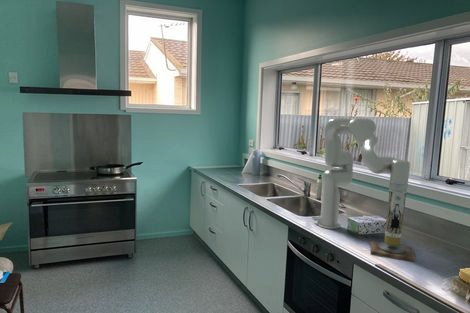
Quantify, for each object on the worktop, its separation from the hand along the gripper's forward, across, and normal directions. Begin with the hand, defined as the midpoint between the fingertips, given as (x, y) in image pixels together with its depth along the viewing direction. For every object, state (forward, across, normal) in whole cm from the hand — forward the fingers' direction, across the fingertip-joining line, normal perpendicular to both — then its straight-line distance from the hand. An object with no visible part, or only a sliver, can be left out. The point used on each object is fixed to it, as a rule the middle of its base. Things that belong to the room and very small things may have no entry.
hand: (394, 225), depth 165 cm
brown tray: (+13, 0, 0) cm, 13 cm away
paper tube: (+9, 0, 0) cm, 9 cm away
